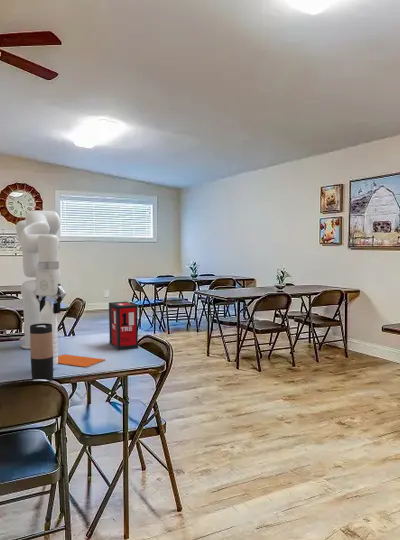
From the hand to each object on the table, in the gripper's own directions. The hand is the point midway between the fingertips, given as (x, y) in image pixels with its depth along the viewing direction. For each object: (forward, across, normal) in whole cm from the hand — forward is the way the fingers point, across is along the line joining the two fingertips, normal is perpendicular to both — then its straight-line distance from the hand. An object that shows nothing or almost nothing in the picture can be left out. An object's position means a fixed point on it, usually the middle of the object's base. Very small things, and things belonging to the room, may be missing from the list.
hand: (50, 312), depth 181 cm
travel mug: (+23, +8, -13) cm, 27 cm away
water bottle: (+21, 0, 0) cm, 21 cm away
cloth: (+22, 0, +13) cm, 26 cm away
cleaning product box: (+23, +2, +45) cm, 51 cm away
